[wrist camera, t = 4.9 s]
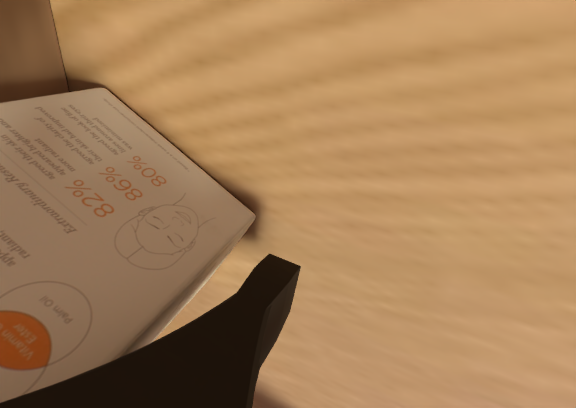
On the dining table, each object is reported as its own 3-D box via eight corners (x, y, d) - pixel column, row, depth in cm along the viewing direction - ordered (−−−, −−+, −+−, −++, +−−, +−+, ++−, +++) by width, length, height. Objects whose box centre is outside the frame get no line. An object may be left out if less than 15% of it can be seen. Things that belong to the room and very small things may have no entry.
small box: (86, 178, 15) (-353, 355, 7) (106, 81, 12) (-695, 192, 4) (209, 284, 15) (-82, 599, 7) (263, 216, 12) (-174, 665, 3)
